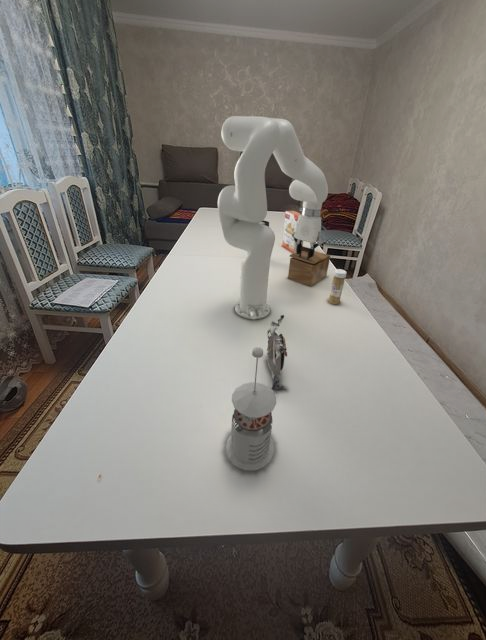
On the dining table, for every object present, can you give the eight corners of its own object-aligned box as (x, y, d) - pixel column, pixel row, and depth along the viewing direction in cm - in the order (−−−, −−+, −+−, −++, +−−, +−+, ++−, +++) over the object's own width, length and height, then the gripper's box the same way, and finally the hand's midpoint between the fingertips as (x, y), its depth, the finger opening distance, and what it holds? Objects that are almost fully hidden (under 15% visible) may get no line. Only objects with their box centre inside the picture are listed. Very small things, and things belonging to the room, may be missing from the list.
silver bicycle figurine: (288, 390, 74) (294, 348, 67) (271, 390, 73) (276, 348, 67) (279, 352, 87) (284, 314, 80) (265, 352, 86) (268, 314, 80)
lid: (313, 264, 123) (316, 251, 120) (289, 256, 129) (291, 244, 126) (330, 257, 135) (332, 245, 133) (307, 250, 141) (309, 239, 139)
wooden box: (310, 286, 129) (314, 265, 124) (287, 278, 134) (290, 258, 130) (326, 276, 140) (330, 257, 135) (304, 269, 146) (307, 250, 141)
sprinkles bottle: (326, 301, 117) (332, 270, 111) (331, 298, 120) (338, 267, 114) (336, 305, 114) (343, 274, 108) (341, 302, 118) (348, 271, 111)
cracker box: (281, 245, 176) (285, 210, 166) (290, 245, 179) (294, 210, 169) (293, 253, 165) (297, 216, 155) (302, 252, 168) (307, 215, 158)
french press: (215, 451, 58) (214, 351, 46) (249, 413, 66) (256, 320, 54) (256, 481, 53) (267, 379, 41) (287, 436, 62) (303, 340, 50)
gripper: (288, 209, 120) (283, 252, 128) (326, 217, 111) (318, 262, 120) (297, 208, 125) (292, 248, 134) (334, 215, 117) (326, 258, 125)
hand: (304, 255), depth 126 cm, fingers closed on lid, 5 cm apart
